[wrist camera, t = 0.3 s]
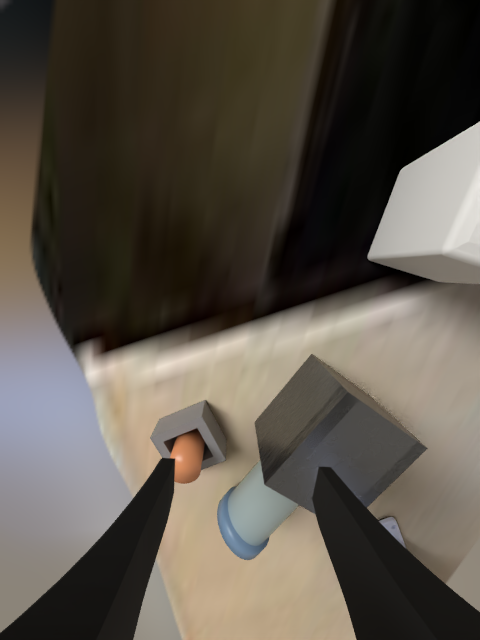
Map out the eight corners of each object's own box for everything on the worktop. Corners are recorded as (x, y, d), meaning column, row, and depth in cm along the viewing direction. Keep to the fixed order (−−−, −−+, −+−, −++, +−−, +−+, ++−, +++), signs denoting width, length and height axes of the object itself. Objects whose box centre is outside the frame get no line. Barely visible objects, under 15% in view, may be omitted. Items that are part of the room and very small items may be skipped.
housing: (311, 354, 20) (347, 391, 14) (369, 395, 21) (427, 448, 15) (254, 422, 21) (264, 484, 15) (312, 458, 23) (343, 530, 16)
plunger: (210, 446, 20) (206, 476, 17) (184, 456, 20) (176, 488, 17) (197, 423, 20) (191, 450, 17) (171, 434, 20) (160, 463, 17)
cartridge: (315, 372, 20) (342, 404, 15) (355, 400, 21) (393, 440, 16) (218, 485, 22) (215, 545, 17) (258, 507, 23) (265, 570, 18)
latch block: (226, 439, 22) (225, 460, 19) (182, 457, 22) (176, 479, 20) (205, 399, 21) (201, 416, 18) (159, 419, 21) (150, 438, 19)
